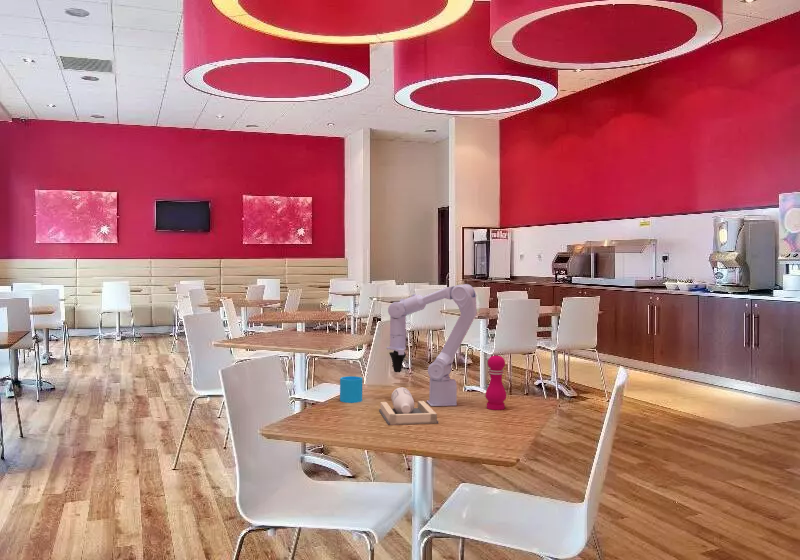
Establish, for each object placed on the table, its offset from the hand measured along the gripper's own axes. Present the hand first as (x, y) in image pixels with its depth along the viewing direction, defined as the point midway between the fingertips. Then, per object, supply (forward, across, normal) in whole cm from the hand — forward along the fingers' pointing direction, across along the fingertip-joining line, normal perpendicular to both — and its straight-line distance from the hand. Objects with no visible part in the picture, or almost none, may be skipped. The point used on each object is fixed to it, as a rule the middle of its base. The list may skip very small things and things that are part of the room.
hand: (397, 371), depth 249 cm
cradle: (+10, +26, -2) cm, 28 cm away
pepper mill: (+11, +18, +32) cm, 38 cm away
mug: (+11, -4, -16) cm, 20 cm away
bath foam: (+6, +14, -1) cm, 15 cm away
